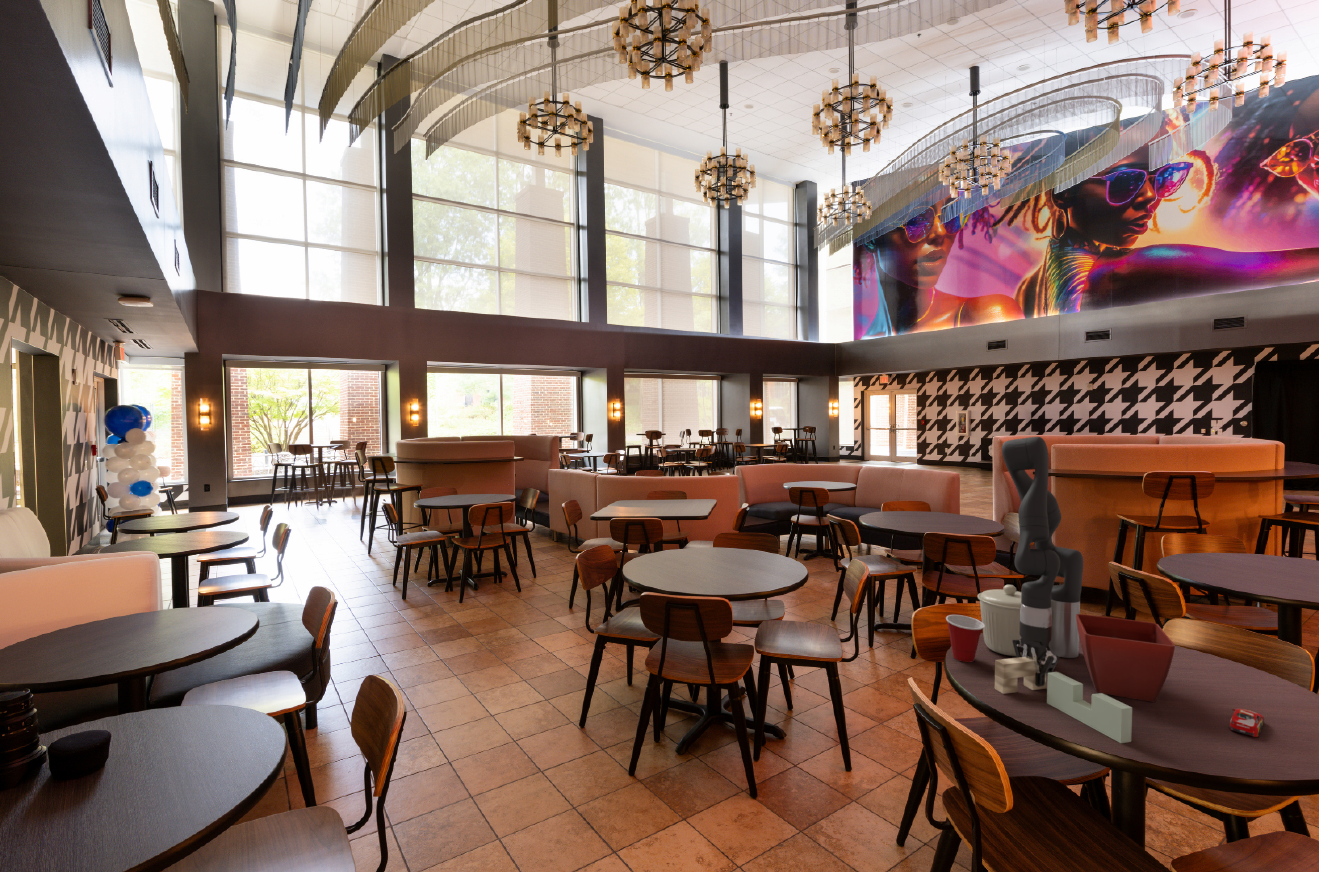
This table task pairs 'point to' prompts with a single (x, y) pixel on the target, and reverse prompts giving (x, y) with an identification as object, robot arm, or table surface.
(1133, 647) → the plant pot
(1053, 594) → the robot arm
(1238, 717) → the race car
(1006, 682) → the slotted plate
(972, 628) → the plastic cup
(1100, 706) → the notched board
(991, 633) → the canister
